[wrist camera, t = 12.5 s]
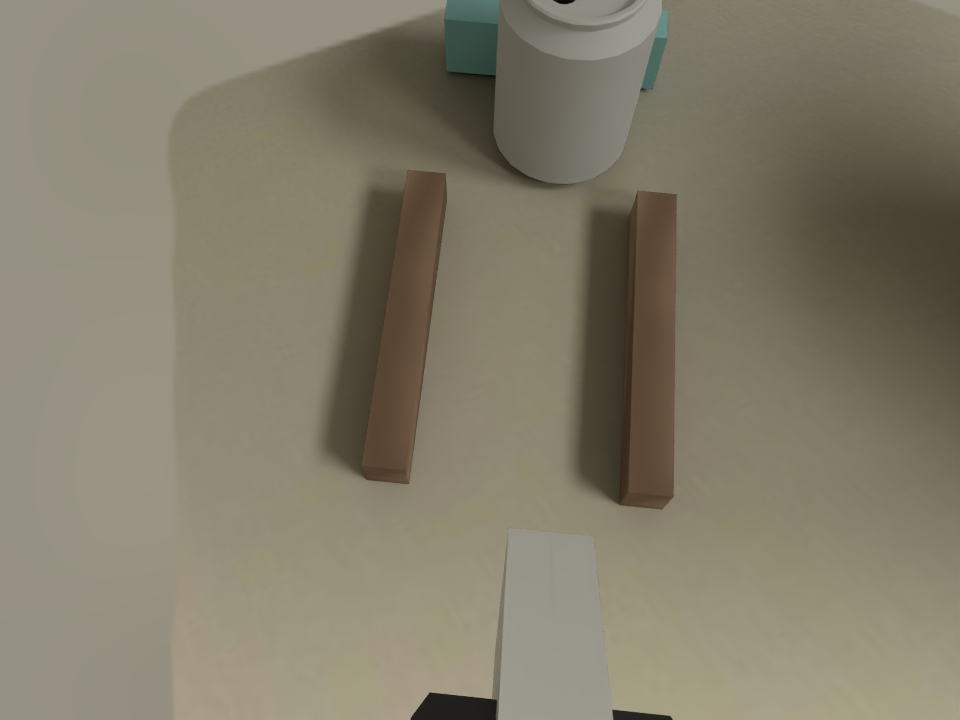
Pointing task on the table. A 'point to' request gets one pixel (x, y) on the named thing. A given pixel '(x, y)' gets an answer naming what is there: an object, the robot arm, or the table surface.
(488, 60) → the bar
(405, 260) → the chute
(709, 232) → the table surface
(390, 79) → the table surface
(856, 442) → the table surface
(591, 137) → the can
